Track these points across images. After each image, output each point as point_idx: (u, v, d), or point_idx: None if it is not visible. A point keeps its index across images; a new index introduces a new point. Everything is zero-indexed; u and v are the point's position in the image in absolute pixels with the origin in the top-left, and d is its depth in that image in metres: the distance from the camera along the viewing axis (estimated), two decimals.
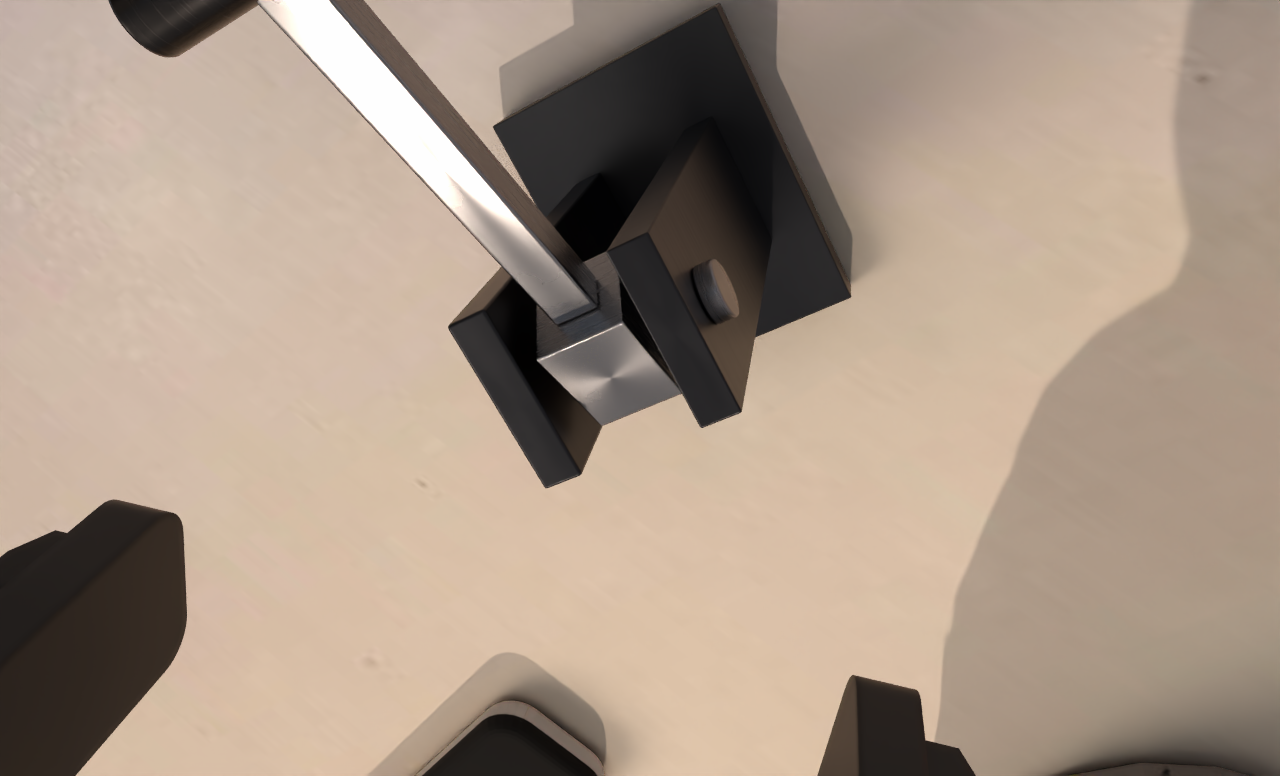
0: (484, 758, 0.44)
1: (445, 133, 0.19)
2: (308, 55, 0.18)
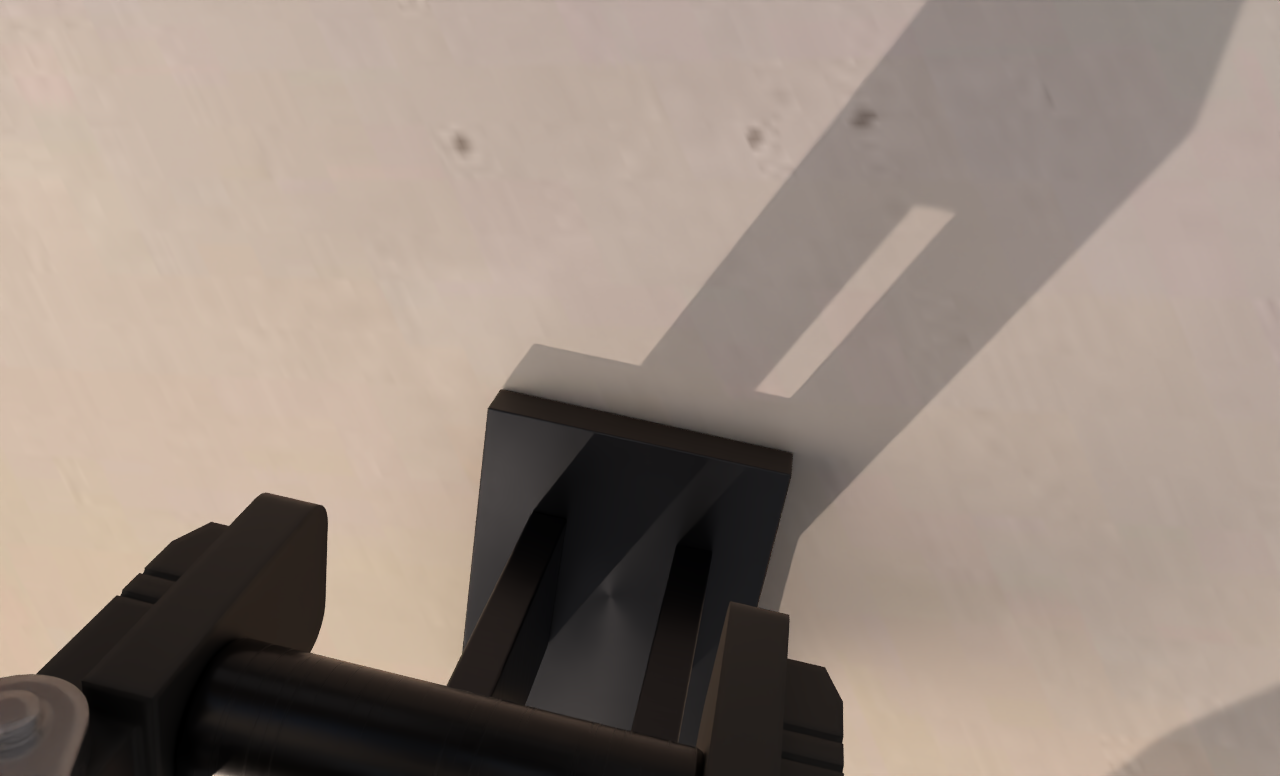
0: None
1: None
2: None
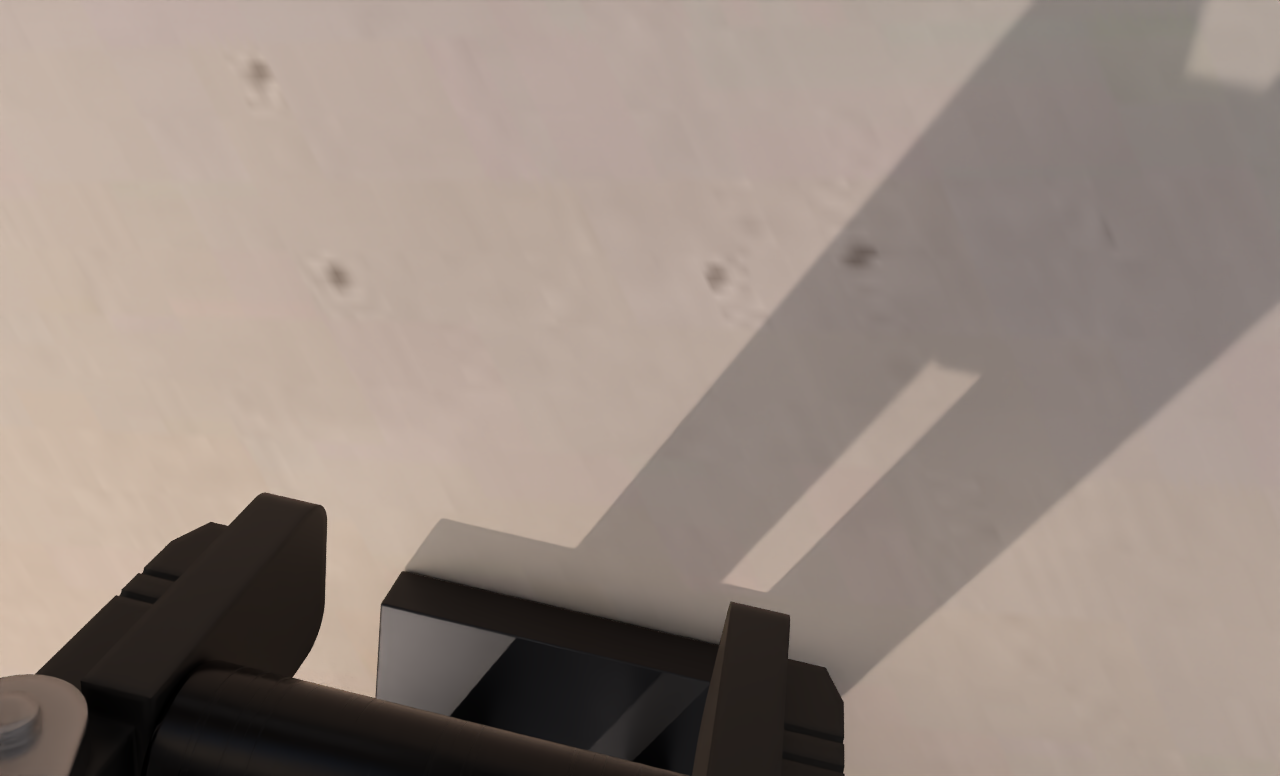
0: None
1: None
2: None
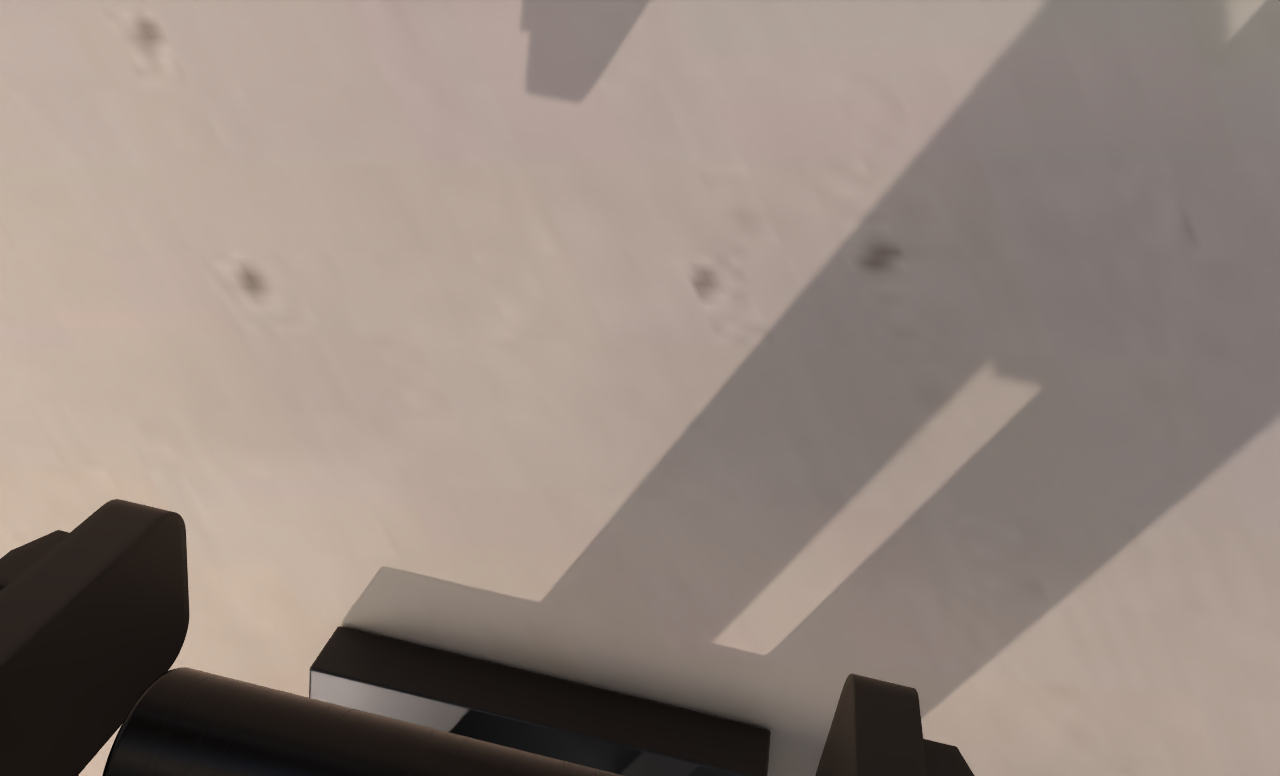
0: None
1: None
2: None
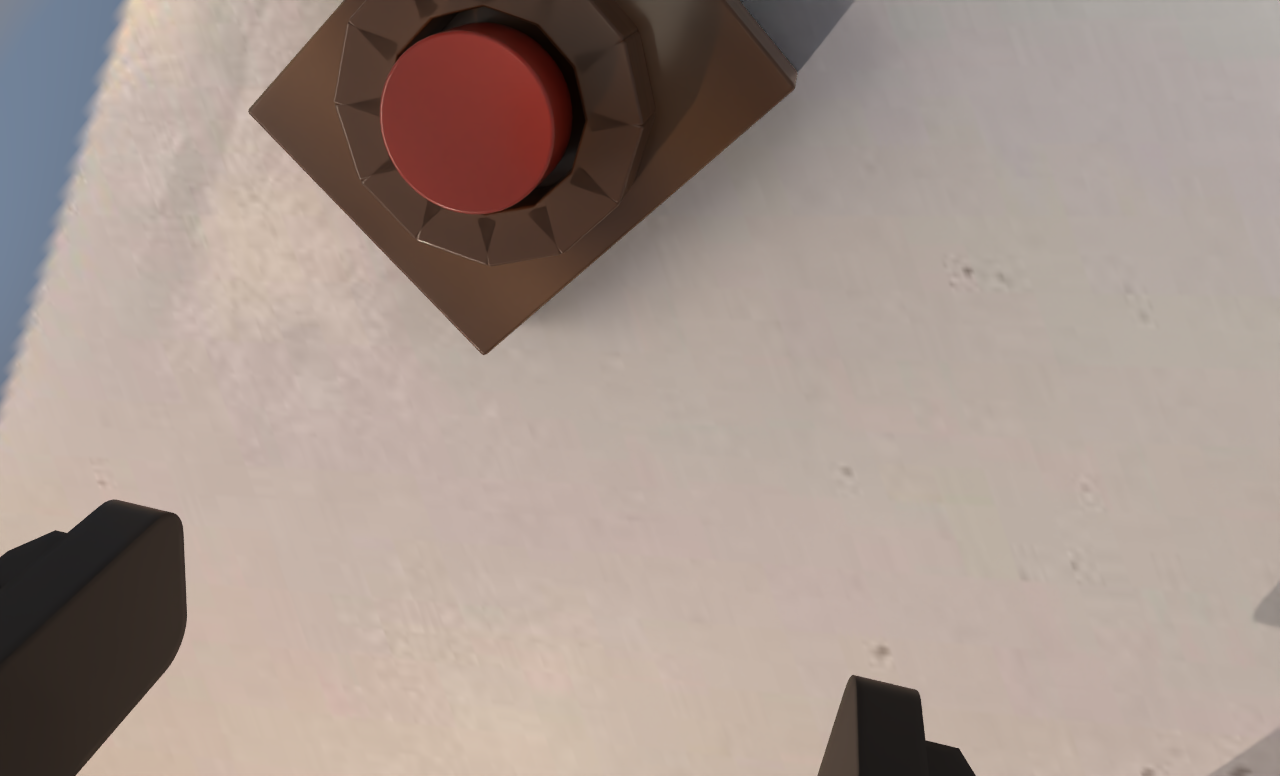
0: None
1: None
2: None
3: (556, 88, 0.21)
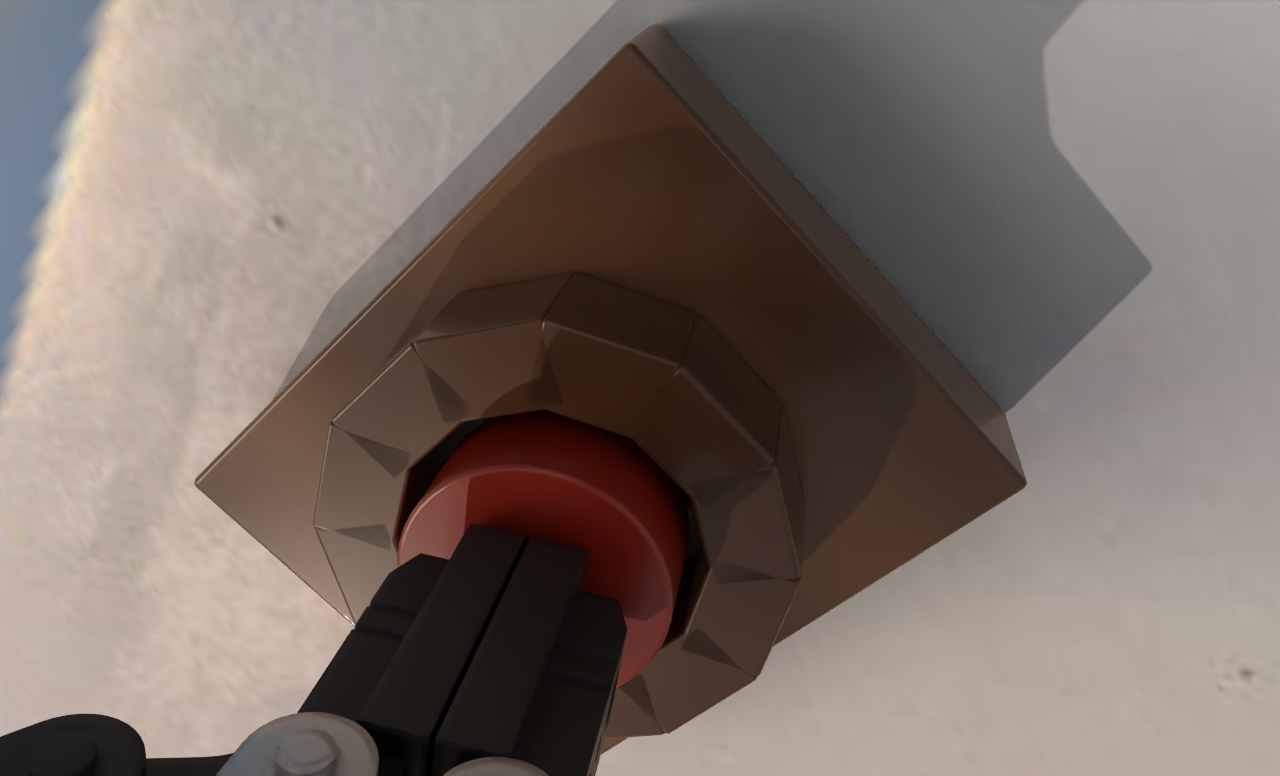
0: None
1: None
2: None
3: (671, 522, 0.13)
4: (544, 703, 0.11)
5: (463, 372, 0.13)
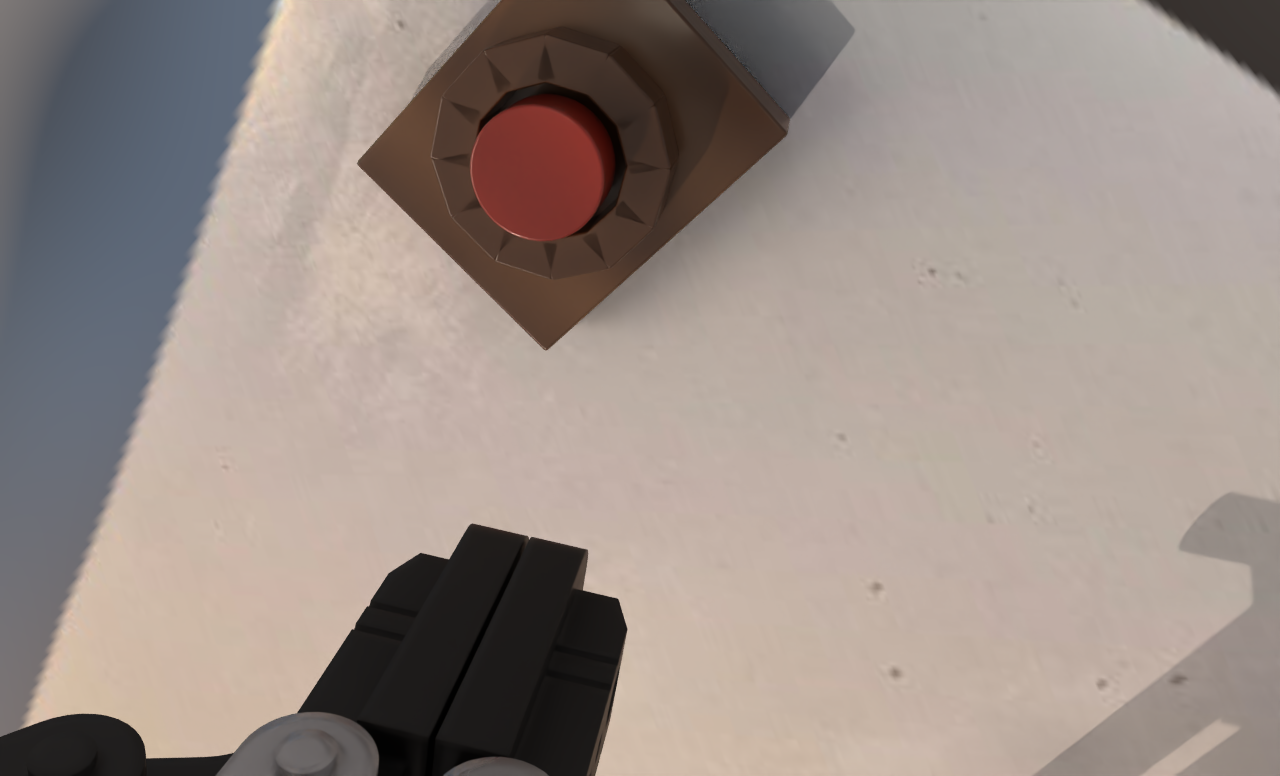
0: None
1: None
2: None
3: (604, 143, 0.28)
4: (544, 703, 0.11)
5: (507, 64, 0.28)
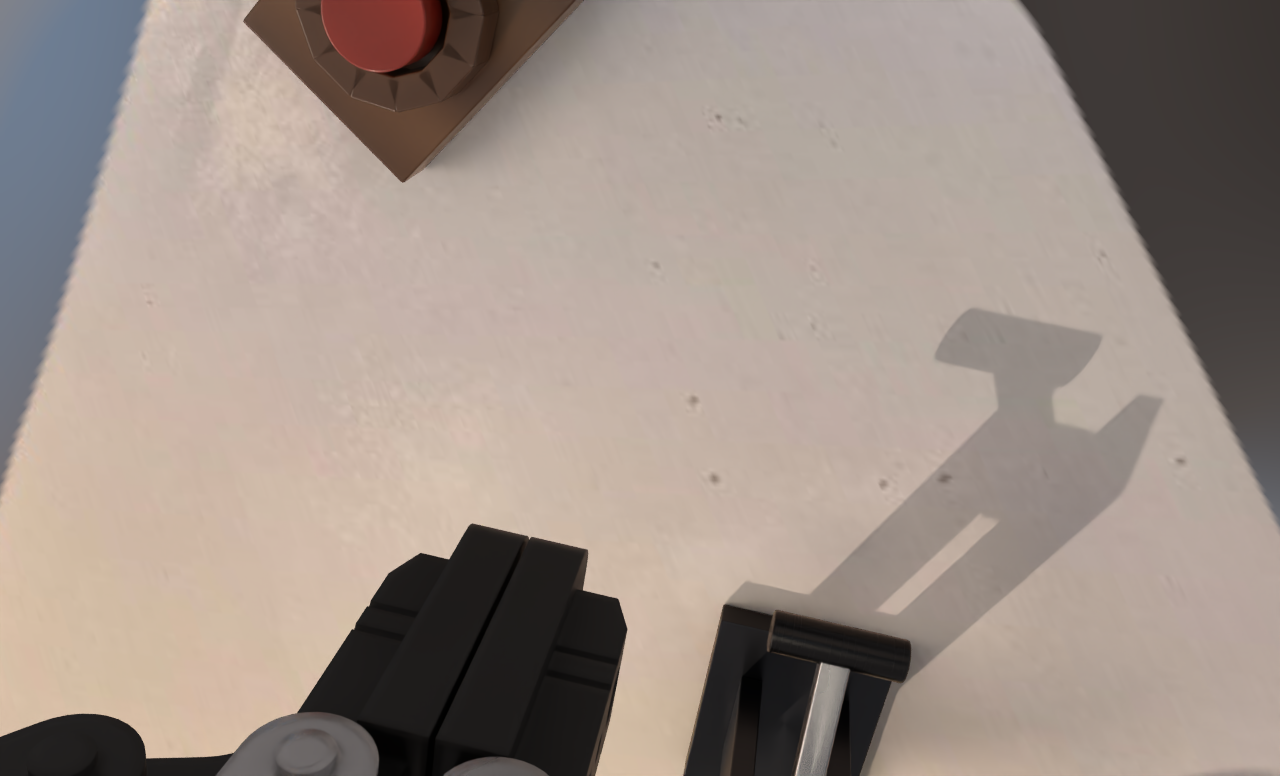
0: None
1: (826, 764, 0.38)
2: (815, 693, 0.38)
3: None
4: (544, 703, 0.11)
5: None
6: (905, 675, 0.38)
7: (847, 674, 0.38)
